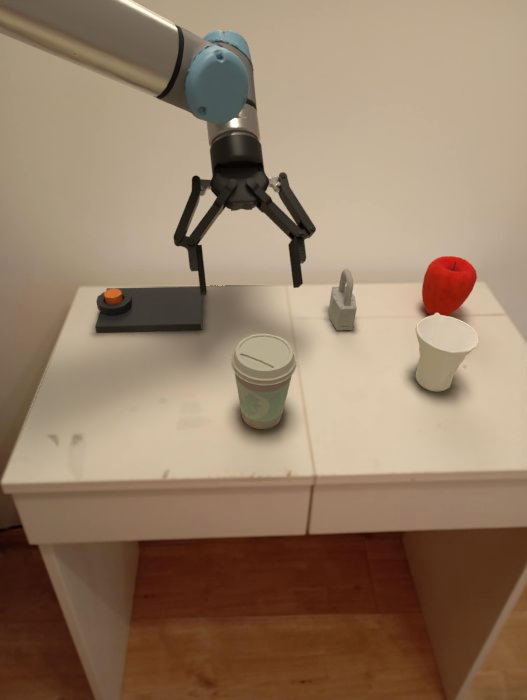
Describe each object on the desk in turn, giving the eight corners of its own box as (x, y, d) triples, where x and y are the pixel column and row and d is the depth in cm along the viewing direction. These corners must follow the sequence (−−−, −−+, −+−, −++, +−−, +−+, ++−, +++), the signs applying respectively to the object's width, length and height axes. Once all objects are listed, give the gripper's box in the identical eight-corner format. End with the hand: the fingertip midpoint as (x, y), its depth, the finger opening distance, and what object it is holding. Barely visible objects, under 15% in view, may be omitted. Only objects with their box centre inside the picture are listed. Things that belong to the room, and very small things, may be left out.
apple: (463, 330, 85) (483, 279, 78) (414, 321, 87) (429, 270, 80) (461, 303, 92) (479, 254, 85) (415, 296, 94) (429, 246, 87)
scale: (94, 332, 81) (90, 319, 79) (105, 294, 90) (102, 281, 88) (201, 330, 83) (200, 316, 81) (202, 292, 92) (201, 279, 90)
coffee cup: (222, 403, 70) (220, 341, 62) (273, 386, 73) (277, 324, 65) (247, 445, 64) (249, 382, 56) (301, 424, 67) (310, 361, 59)
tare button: (104, 305, 83) (102, 297, 82) (107, 295, 85) (105, 288, 84) (121, 304, 83) (120, 297, 82) (123, 295, 86) (122, 288, 85)
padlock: (355, 330, 84) (365, 283, 78) (333, 331, 84) (341, 283, 77) (346, 307, 90) (355, 261, 83) (325, 308, 89) (332, 261, 83)
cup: (448, 360, 79) (467, 312, 72) (466, 401, 72) (489, 351, 65) (395, 359, 78) (409, 310, 72) (409, 400, 71) (426, 350, 65)
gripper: (144, 133, 62) (160, 290, 61) (325, 129, 66) (344, 276, 65) (149, 160, 70) (163, 301, 68) (311, 155, 74) (328, 288, 72)
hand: (251, 289), depth 67 cm, fingers open, 13 cm apart
